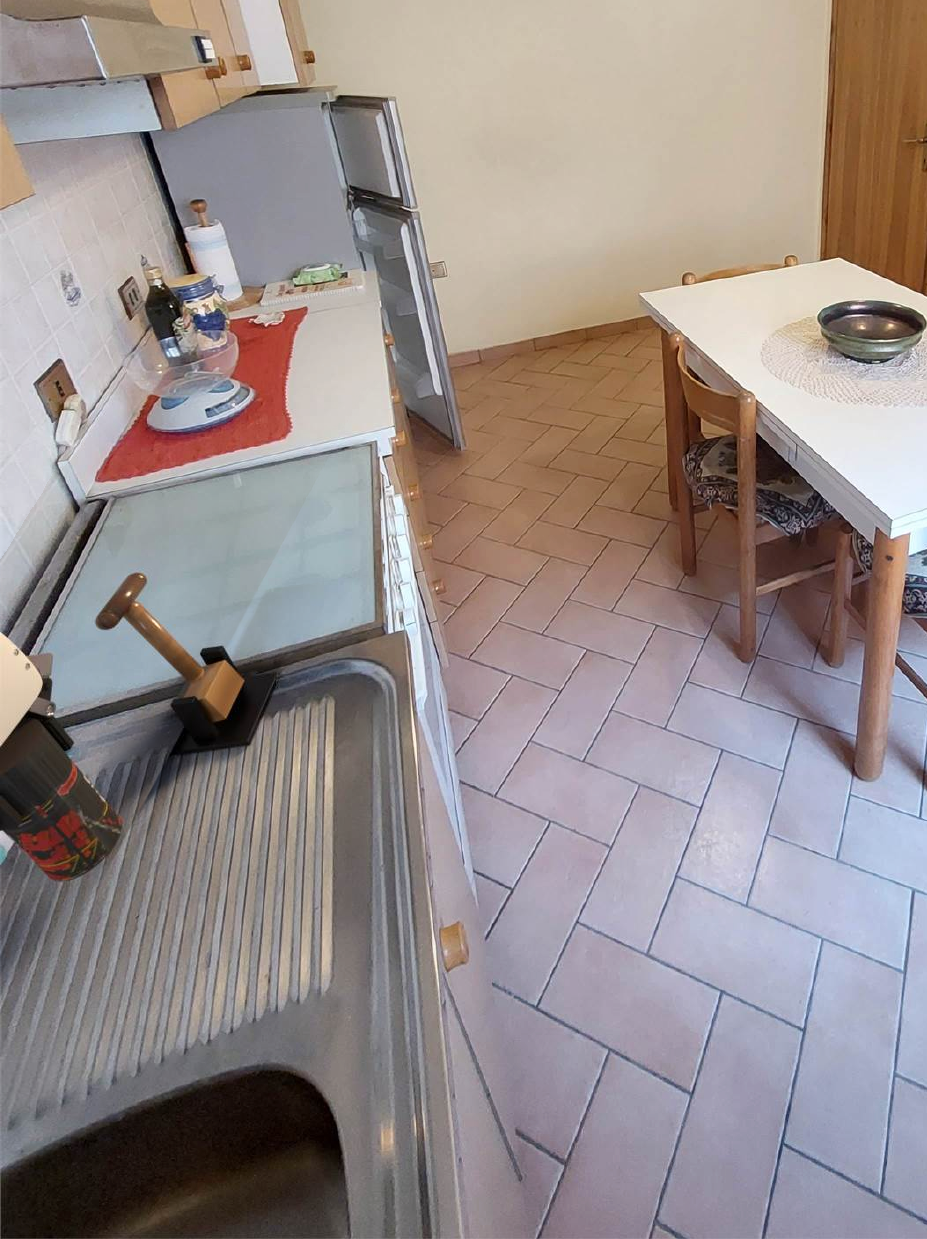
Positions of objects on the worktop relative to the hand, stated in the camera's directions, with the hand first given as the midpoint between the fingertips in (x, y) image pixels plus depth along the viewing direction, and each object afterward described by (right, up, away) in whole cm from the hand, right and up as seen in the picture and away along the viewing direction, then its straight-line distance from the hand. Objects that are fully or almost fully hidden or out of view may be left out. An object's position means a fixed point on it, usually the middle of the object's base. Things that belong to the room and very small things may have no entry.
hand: (29, 785), depth 61 cm
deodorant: (+1, -9, +5) cm, 10 cm away
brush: (-1, +4, +16) cm, 16 cm away
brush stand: (+4, -5, +21) cm, 22 cm away
